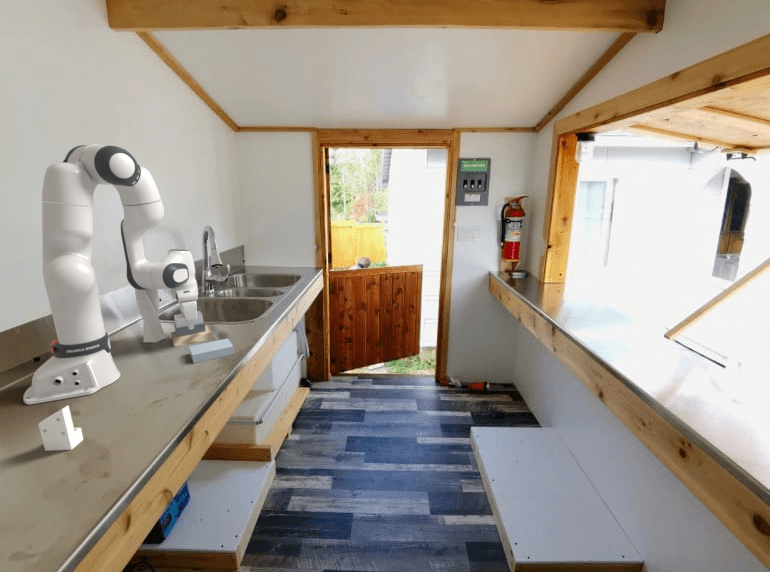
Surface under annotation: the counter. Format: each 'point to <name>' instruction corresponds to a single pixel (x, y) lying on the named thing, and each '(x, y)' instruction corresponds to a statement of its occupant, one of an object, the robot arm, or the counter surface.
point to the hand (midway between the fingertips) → (189, 326)
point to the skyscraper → (150, 314)
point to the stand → (211, 350)
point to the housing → (182, 325)
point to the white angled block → (60, 431)
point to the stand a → (191, 337)
